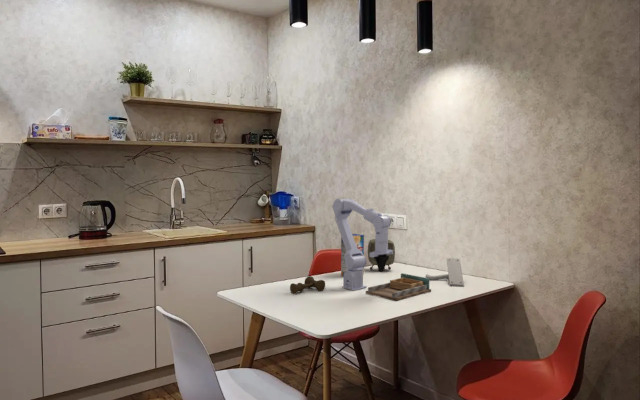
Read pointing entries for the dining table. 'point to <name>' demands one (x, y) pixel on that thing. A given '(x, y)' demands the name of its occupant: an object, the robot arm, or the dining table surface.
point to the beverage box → (360, 245)
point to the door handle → (451, 273)
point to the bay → (399, 294)
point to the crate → (405, 283)
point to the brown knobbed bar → (307, 285)
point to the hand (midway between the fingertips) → (381, 271)
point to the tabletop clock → (391, 256)
